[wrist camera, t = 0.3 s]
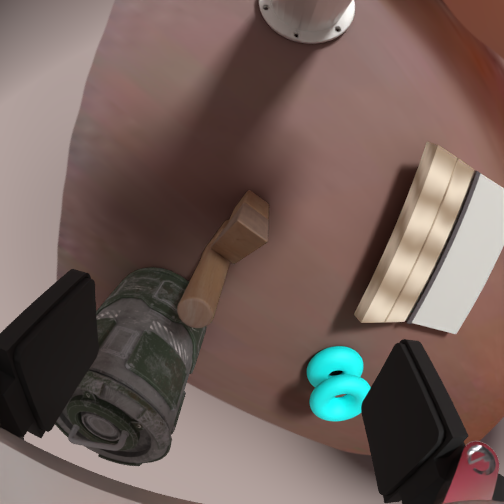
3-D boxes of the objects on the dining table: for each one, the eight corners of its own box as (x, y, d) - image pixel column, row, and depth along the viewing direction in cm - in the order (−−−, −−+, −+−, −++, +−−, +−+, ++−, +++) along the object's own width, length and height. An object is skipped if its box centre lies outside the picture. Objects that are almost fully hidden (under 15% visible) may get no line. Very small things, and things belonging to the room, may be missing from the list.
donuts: (378, 380, 42) (367, 421, 46) (364, 340, 51) (357, 381, 55) (311, 386, 43) (308, 426, 47) (306, 344, 52) (305, 385, 56)
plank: (426, 141, 35) (438, 145, 33) (464, 165, 39) (474, 169, 37) (353, 314, 45) (361, 323, 43) (397, 314, 49) (404, 321, 47)
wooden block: (270, 204, 44) (268, 257, 27) (225, 262, 47) (200, 337, 31) (248, 188, 43) (232, 231, 26) (204, 247, 47) (168, 317, 30)
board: (468, 168, 39) (476, 171, 37) (514, 197, 40) (523, 201, 37) (402, 314, 49) (406, 323, 47) (451, 327, 50) (457, 335, 47)
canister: (140, 349, 55) (79, 474, 30) (104, 274, 50) (3, 388, 24) (221, 340, 53) (188, 489, 27) (191, 255, 47) (113, 396, 22)
